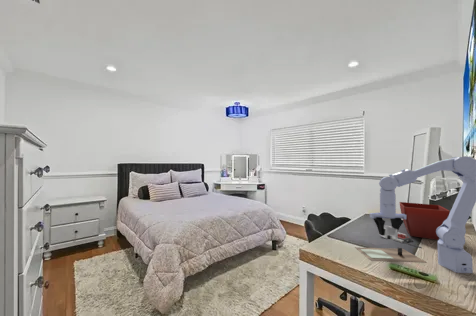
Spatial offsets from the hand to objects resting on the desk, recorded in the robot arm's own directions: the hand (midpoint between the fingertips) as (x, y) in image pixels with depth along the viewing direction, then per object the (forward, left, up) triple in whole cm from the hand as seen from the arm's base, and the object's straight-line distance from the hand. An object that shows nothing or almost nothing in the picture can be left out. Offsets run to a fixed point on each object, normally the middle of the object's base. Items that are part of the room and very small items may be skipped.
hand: (387, 234), depth 94 cm
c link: (0, 0, -1) cm, 1 cm away
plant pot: (+31, -38, -10) cm, 50 cm away
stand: (0, 0, -10) cm, 10 cm away
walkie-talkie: (+19, -19, -10) cm, 28 cm away
